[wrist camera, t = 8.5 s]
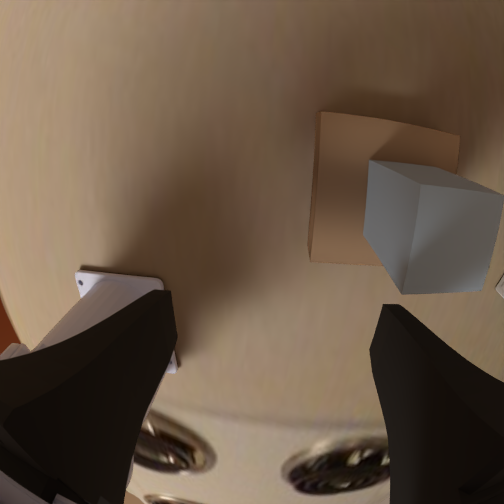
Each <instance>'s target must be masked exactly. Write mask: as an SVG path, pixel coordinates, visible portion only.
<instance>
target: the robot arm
mask: <svg viewBox="0 0 504 504" xmlns="http://www.w3.org/2000/svg"><path fill="white" fill-rule="evenodd" d="M75 278H76V282H77V285H78V289H79V293H80V296H81V299H80V300H79V301H78V302H77V303H76V304H75V305H74V306H73V307H72V308H71V310H70V311H69V312H68V313H67V314H66V315H65V316H64V317H63V318H62V319H61V320H60V321H59V322H58V323H57V324H56V325H55V327H54V328H53V329H52V330H51V331H50V332H49V333H48V334H47V335H46V336H45V337H44V339H43V340H42V341H41V342H40V343H39V344H38V345H37V346H36V348H34V349H33V350H31V351H30V350H29V349H28V347H27V346H26V345H25V344H23V343H22V344H20V345H19V344H15V343H12V344H11V345H10V346H9V347H8V348H7V349H6V350H5V351H4V352H3V353H2V354H1V355H0V504H124V497H125V491H126V488H127V486H128V484H129V482H130V480H131V476H132V472H133V453H134V450H135V446H136V442H137V439H138V435H139V432H140V429H141V426H142V424H143V422H144V421H145V419H146V417H147V415H148V412H149V410H150V408H151V405H152V403H153V401H154V398H155V396H156V394H157V392H158V389H159V387H160V385H161V382H162V380H163V378H164V376H165V373H166V372H167V373H173V374H174V373H176V372H177V370H178V367H177V362H176V357H175V352H174V347H175V344H176V341H177V331H176V324H175V318H174V311H173V305H172V297H171V291H167V290H164V286H163V282H162V281H161V280H160V279H158V278H151V277H141V276H132V275H122V274H113V273H104V272H95V271H86V270H78V271H77V272H76V273H75ZM81 281H82V282H83V283H82V282H81ZM369 350H370V358H371V366H372V373H373V377H374V381H375V385H376V389H377V393H378V396H379V400H380V404H381V408H382V412H383V416H384V420H385V424H386V430H387V435H388V445H389V457H390V504H504V383H503V382H502V381H500V380H498V379H496V378H494V377H492V376H491V375H489V374H488V373H486V372H484V371H483V370H481V369H480V368H478V367H477V366H475V365H474V364H472V363H471V362H469V361H468V360H467V359H465V358H464V357H462V356H461V355H460V354H459V353H457V352H456V351H455V350H453V349H452V348H451V347H450V346H448V345H447V344H446V343H445V342H444V341H442V340H441V339H440V338H439V337H438V336H436V335H435V334H434V333H433V332H432V331H431V330H429V329H428V328H427V327H426V326H425V325H424V324H423V323H421V322H420V321H419V320H418V319H417V318H416V317H415V316H413V315H412V314H411V313H410V312H409V311H407V310H406V309H405V308H404V307H402V306H401V305H399V304H383V306H382V310H381V313H380V317H379V320H378V324H377V327H376V330H375V334H374V337H373V340H372V343H371V346H370V349H369ZM170 360H171V361H170Z"/></svg>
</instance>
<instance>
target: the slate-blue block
mask: <svg viewBox="0 0 504 504" xmlns="http://www.w3.org/2000/svg"><path fill="white" fill-rule="evenodd" d="M503 202H504V195H502V194H500V193H498V192H496V191H493V190H491V189H489V188H487V187H484V186H482V185H480V184H478V183H475V182H473V181H470V180H468V179H466V178H463V177H461V176H458V175H456V174H453V173H450V172H448V171H445V170H442V169H440V168H437V167H432V166H424V165H416V164H408V163H399V162H389V161H378V160H369V169H368V185H367V198H366V209H365V220H364V229H363V236H364V237H365V238H366V240H367V241H368V243H369V244H370V246H371V247H372V249H373V250H374V252H375V253H376V255H377V256H378V258H379V259H380V261H381V262H382V264H383V266H384V267H385V269H386V270H387V272H388V273H389V275H390V277H391V278H392V280H393V281H394V283H395V285H396V286H397V288H398V289H399V291H400V293H401V294H431V293H452V292H470V291H481V290H482V287H483V284H484V281H485V278H486V275H487V271H488V268H489V265H490V261H491V257H492V254H493V250H494V246H495V242H496V237H497V233H498V228H499V224H500V219H501V214H502V208H503Z"/></svg>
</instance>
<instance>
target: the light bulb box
mask: <svg viewBox="0 0 504 504" xmlns="http://www.w3.org/2000/svg"><path fill="white" fill-rule="evenodd" d="M495 289H496V291H497V292H498V293H499V294H500V295H501V296H502V297H503V298H504V275H503V277H502V278H501V280H500V282H499V283H498V285H497V286H496V288H495Z"/></svg>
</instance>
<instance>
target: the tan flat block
mask: <svg viewBox="0 0 504 504" xmlns="http://www.w3.org/2000/svg"><path fill="white" fill-rule="evenodd" d="M459 146H460V136H458V135H454V134H451V133H447V132H443V131H439V130H434V129H430V128H426V127H421V126H417V125H412V124H407V123H402V122H396V121H391V120H385V119H379V118H373V117H366V116H359V115H351V114H343V113H334V112H324V111H321V112H318V113H316V127H315V149H314V167H313V183H312V197H311V210H310V222H309V233H308V251H309V257H310V262H319V263H336V264H354V265H372V266H383V264H382V262H381V261H380V259H379V258H378V256H377V255H376V253H375V252H374V250H373V249H372V247H371V246H370V244H369V243H368V241H367V240H366V238H365V237H364V236H363V229H364V220H365V209H366V198H367V185H368V169H369V160H378V161H389V162H399V163H408V164H416V165H424V166H432V167H437V168H440V169H442V170H445V171H448V172H450V173H453V174H456V173H457V165H458V156H459Z"/></svg>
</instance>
